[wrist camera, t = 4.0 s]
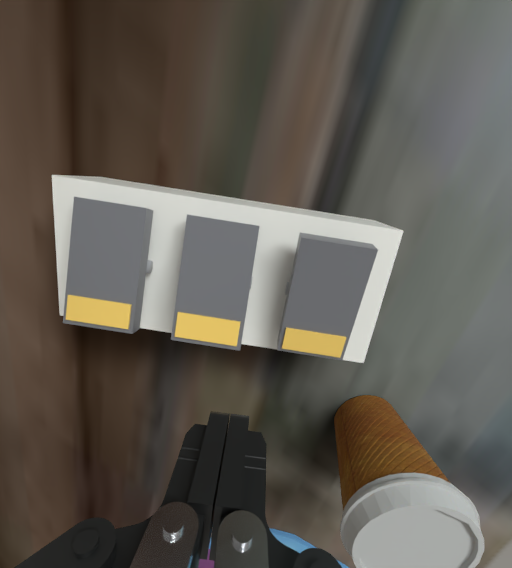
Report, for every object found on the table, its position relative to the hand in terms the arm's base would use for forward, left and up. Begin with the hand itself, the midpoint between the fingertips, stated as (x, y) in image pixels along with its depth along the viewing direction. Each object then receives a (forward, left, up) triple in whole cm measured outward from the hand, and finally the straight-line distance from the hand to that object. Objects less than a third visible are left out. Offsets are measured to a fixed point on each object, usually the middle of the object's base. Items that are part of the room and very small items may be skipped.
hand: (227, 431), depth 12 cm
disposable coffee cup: (+12, +14, -17) cm, 25 cm away
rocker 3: (-3, +5, -9) cm, 11 cm away
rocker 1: (-3, -9, -9) cm, 13 cm away
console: (-3, -2, -17) cm, 17 cm away
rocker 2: (-3, -2, -9) cm, 10 cm away
